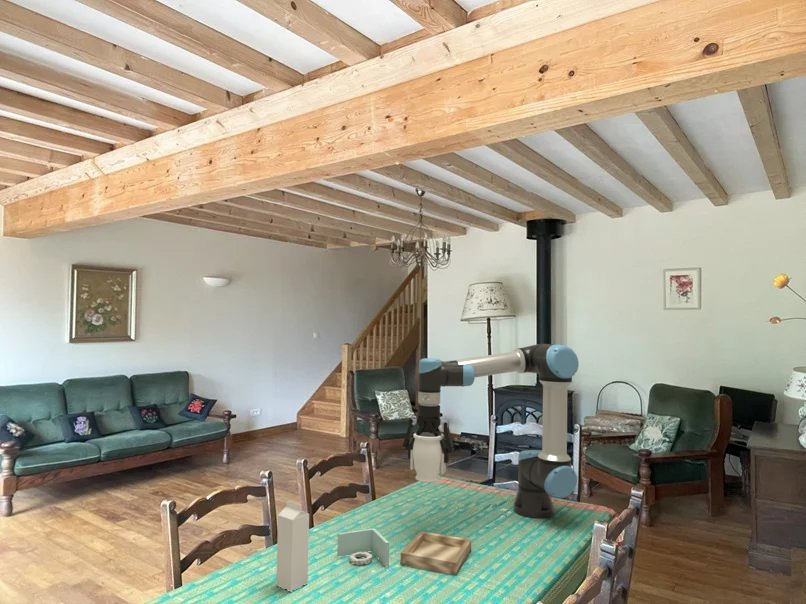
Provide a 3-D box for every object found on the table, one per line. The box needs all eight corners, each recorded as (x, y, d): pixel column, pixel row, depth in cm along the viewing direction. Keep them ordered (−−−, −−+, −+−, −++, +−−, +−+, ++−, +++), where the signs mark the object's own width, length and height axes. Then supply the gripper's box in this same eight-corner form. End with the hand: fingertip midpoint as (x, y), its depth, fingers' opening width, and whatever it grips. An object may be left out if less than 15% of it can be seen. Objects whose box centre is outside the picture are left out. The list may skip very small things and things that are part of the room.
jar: (440, 485, 171) (441, 438, 172) (409, 482, 174) (410, 436, 174) (445, 476, 182) (446, 432, 182) (415, 473, 184) (416, 430, 185)
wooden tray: (471, 550, 166) (471, 539, 167) (456, 575, 150) (456, 562, 150) (420, 542, 173) (420, 531, 173) (400, 564, 156) (400, 552, 156)
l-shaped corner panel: (337, 558, 161) (337, 533, 161) (374, 552, 166) (374, 528, 166) (349, 575, 150) (350, 548, 150) (388, 568, 155) (389, 542, 155)
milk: (292, 578, 147) (295, 497, 148) (307, 584, 143) (310, 501, 144) (275, 586, 142) (278, 502, 143) (290, 593, 138) (293, 507, 139)
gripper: (393, 403, 180) (392, 469, 179) (458, 408, 171) (457, 477, 170) (402, 400, 187) (401, 464, 185) (464, 405, 178) (463, 472, 177)
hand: (427, 470), depth 178 cm, fingers closed on jar, 10 cm apart
